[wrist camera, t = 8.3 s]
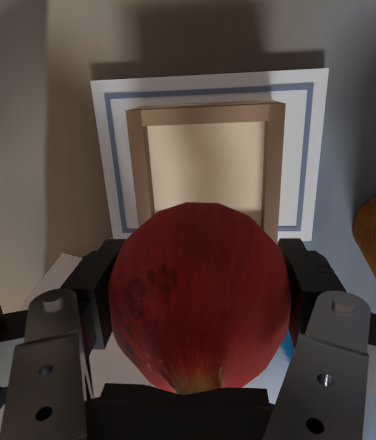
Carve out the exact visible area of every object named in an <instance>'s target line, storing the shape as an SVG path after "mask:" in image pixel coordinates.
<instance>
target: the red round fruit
mask: <svg viewBox="0 0 376 440" xmlns="http://www.w3.org/2000/svg"><path fill="white" fill-rule="evenodd" d="M108 298H109V307H110V315H111V323H112V331H113V334H114V337H115V339H116V342H117V344H118V346H119V347H120V349H121V350H122V351H123V353H124V354H125V355H126V356H127V357H128V358H129V360H130V361H131V362H132V363H133V364H134V365H135V366H136V367H137V368H138V369H139V371H140V372H141V373H142V374H143V375H144V377H145V378H146V379H147V380H148V381H149V382H150V383H152V384H153V385H155V386H157V387H158V388H160V389H162V390H165V391H169V392H173V393H176V394H180V395H188V394H193V393H198V392H204V391H209V390H214V389H219V388H225V387H231V388H242V387H243V386H245V385H246V384H247V383H249V382H250V381H251V380H253V379H254V378H255V377H257V376H258V375H259V374H260V373H261V372H263V370H265V369H266V368H267V366H268V364H269V363H270V361H271V360H272V358H273V356H274V355H275V353H276V351H277V350H278V348H279V346H280V345H281V343H282V341H283V340H284V338H285V336H286V333H287V330H288V327H289V321H290V310H291V299H292V287H291V280H290V275H289V272H288V270H287V267H286V264H285V261H284V258H283V255H282V253H281V250H280V247H279V246H278V245H277V244H276V243H275V242H274V241H273V240H272V239H271V238H270V237H269V236H268V235H267V233H266V232H265V231H264V230H263V229H262V228H261V227H260V226H259V225H258V224H257V223H256V222H255V221H254V220H253V219H252V218H251V217H250V216H249V215H246V214H244V213H242V212H239V211H237V210H234V209H232V208H229V207H227V206H225V205H222V204H220V203H202V202H185V203H182V204H179V205H176V206H173V207H170V208H167V209H164V210H161V211H158V212H157V213H155V214H154V215H153V216H152V217H151V218H149V219H148V220H147V221H146V222H145V223H144V224H142V225H141V226H140V227H139V228H138V229H137V230H135V231H134V232H133V233H132V234H131V235H130V236H129V237H128V238H127V239H126V240H125V241H124V243H123V246H122V248H121V250H120V253H119V255H118V257H117V259H116V262H115V264H114V266H113V269H112V271H111V275H110V279H109V283H108Z"/></svg>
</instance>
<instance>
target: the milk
mask: <svg viewBox="0 0 376 440" xmlns="http://www.w3.org/2000/svg"><path fill="white" fill-rule="evenodd" d="M81 260H82V258H80V257H76V256H73V255H69V254H65V253H62V254H61V255H60V257H59V258H58V259H57V260H56V262H55V263H54V264H53V265H52V267H51V268H50V269H49V271H48V272H47V273H46V274H45V276H44V277H43V278H42V280H41V281H40V282H39V283H38V285H37V286H36V287H35V288H34V290H33V291H32V292H31V294H30V295H29V296H28V297H27V299H26V300H25V301H24V303H23V304H22V305H21V306H20V308H19V309H18V310H17V311H16V312H18V311H23V310H28V307H29V304H30V302H31V301H32V300H33V299H34V298H35V297H37V296H38V295H40V294H42V293H44V292H46V291H49V290H53V289H59V288H60V287H61V286H62V284H63V283H64V282H65V280H66V279H67V278H68V276H69V275H70V274H71V273H72V272H73V270H74V269H75V267H76V266H78V264H79V262H80V261H81ZM89 358H90V363H91V371H92V379H93V387H94V395H95V398H96V397H100V395H101V393H102V390H103V387H104V385H105V383H119V384H144V385H149V381H148V380H147V379H146V378H145V377H144V375H143V374H142V373H141V372H140V371H139V369H138V368H137V367H136V366H135V365H134V364H133V363H132V362H131V361H130V360H129V358H128V357H127V356H126V355H125V354H124V353H123V351H122V350H121V349H120V347H119V346H118V344H117V342H116V339H115V337H114V334H113V331H112V334H111V336H110V338H109V341H108V343H107V345H106V348H105V350H98V349H92V351H91V353H90V355H89ZM4 406H5V404H4ZM4 406H3V407H2V408H1V409H0V430H1V424H2V418H3V412H4Z"/></svg>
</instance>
